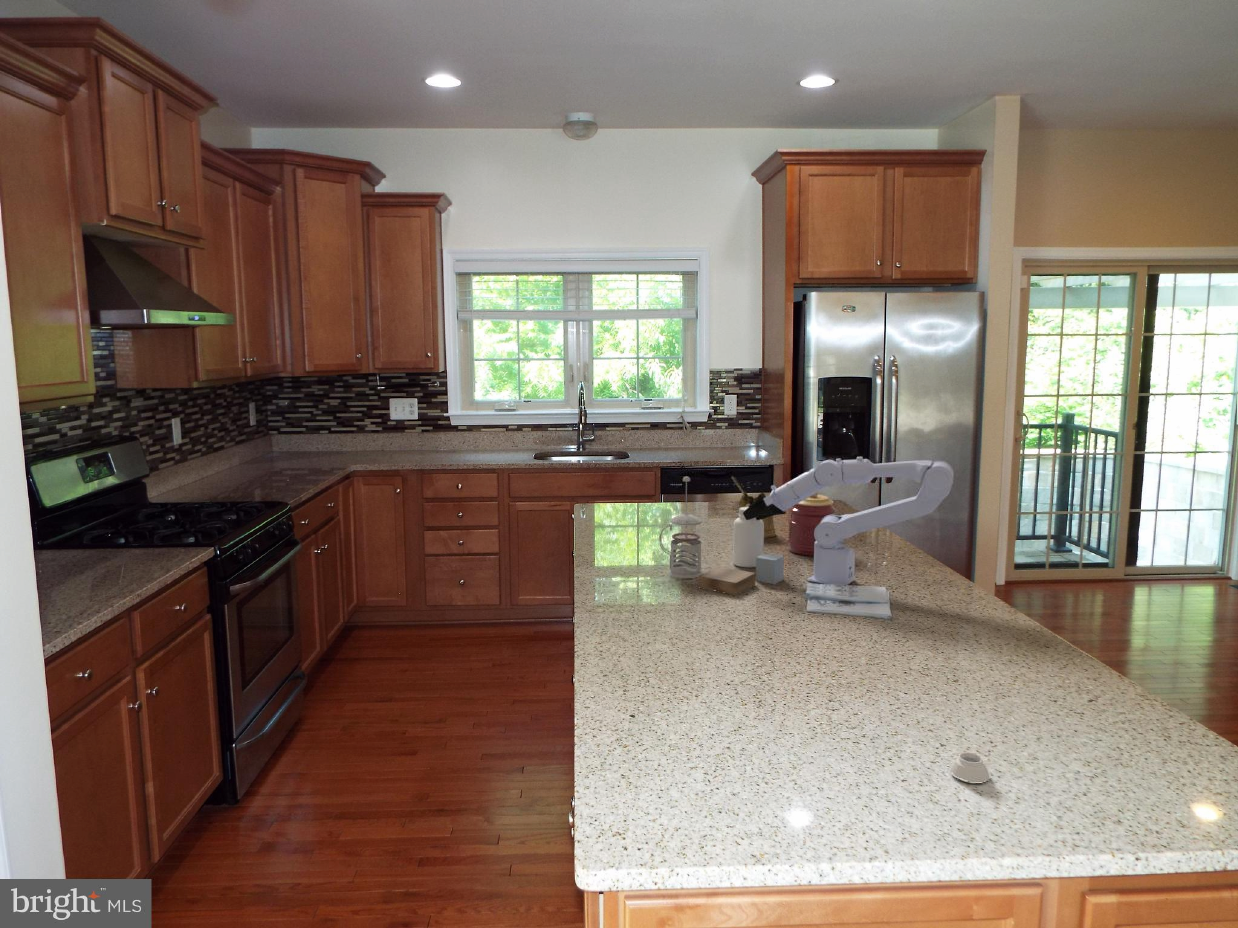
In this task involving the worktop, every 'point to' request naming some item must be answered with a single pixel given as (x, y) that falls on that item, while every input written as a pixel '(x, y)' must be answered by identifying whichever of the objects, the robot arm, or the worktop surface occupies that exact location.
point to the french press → (684, 547)
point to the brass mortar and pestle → (746, 499)
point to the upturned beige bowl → (970, 767)
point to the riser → (727, 580)
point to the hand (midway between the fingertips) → (750, 516)
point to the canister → (807, 522)
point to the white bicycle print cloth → (848, 600)
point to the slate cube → (769, 568)
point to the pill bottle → (747, 540)
